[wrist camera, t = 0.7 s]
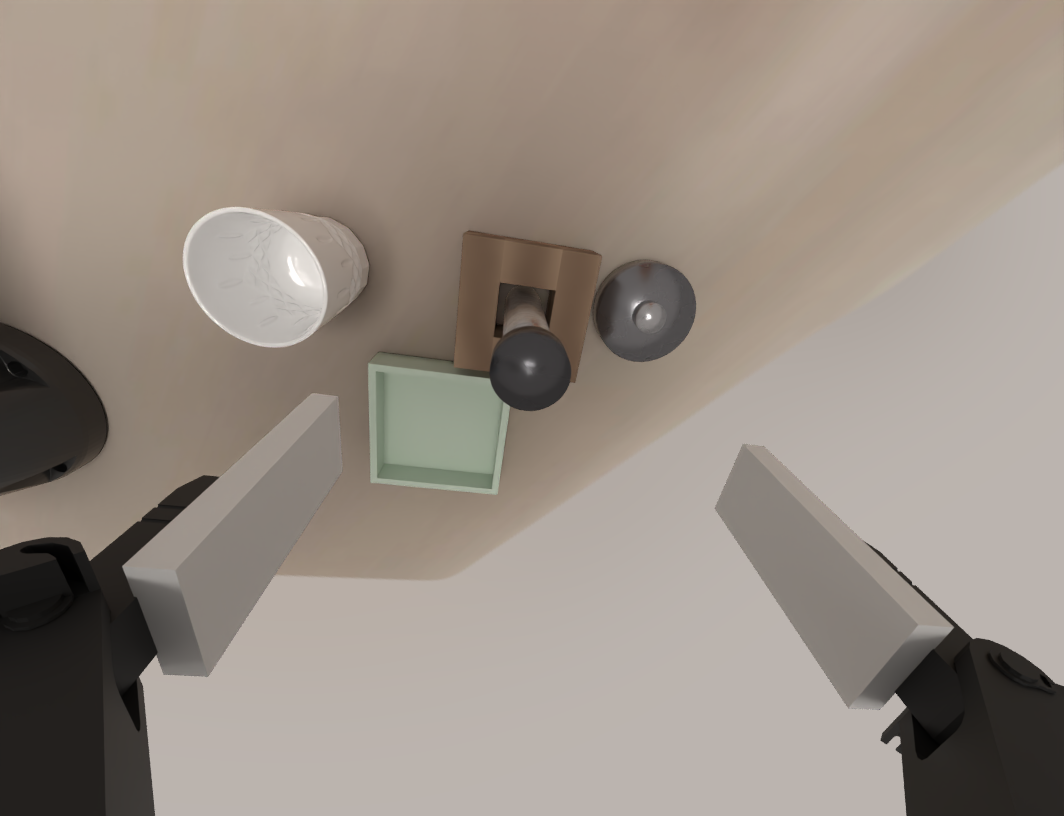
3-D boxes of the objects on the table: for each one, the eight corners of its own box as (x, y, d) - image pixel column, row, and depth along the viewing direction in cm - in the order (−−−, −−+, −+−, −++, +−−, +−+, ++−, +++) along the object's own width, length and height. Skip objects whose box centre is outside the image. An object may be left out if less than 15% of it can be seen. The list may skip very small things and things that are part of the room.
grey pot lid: (584, 346, 37) (591, 360, 33) (604, 252, 33) (614, 257, 30) (669, 358, 37) (683, 372, 34) (697, 267, 34) (716, 274, 31)
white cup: (370, 322, 35) (321, 362, 26) (272, 295, 34) (185, 327, 25) (384, 226, 32) (333, 234, 23) (276, 192, 30) (178, 185, 21)
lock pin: (496, 323, 35) (485, 405, 21) (502, 275, 34) (494, 328, 19) (542, 329, 36) (563, 415, 21) (549, 282, 34) (578, 340, 19)
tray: (379, 464, 41) (370, 482, 39) (378, 351, 36) (368, 363, 33) (498, 476, 42) (497, 494, 40) (513, 369, 37) (513, 381, 35)
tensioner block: (459, 351, 36) (453, 367, 33) (468, 230, 32) (463, 233, 28) (569, 366, 37) (575, 382, 34) (592, 250, 33) (602, 255, 30)
